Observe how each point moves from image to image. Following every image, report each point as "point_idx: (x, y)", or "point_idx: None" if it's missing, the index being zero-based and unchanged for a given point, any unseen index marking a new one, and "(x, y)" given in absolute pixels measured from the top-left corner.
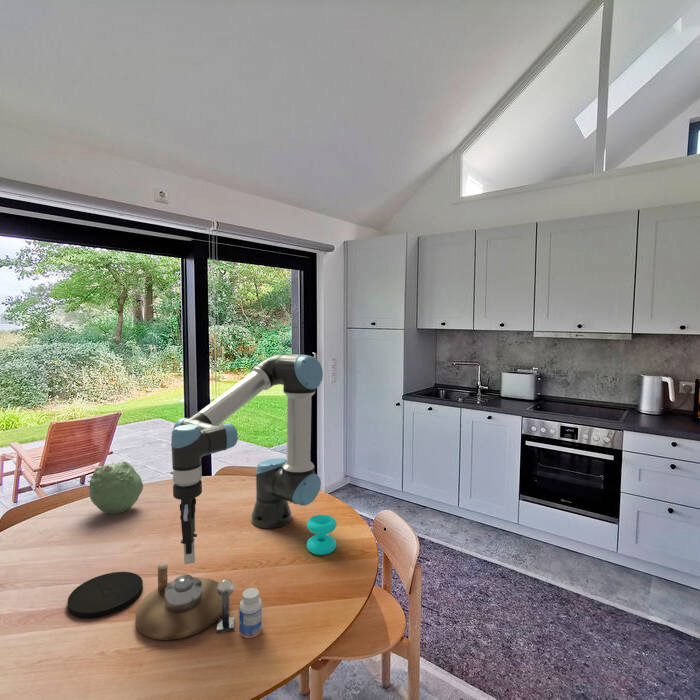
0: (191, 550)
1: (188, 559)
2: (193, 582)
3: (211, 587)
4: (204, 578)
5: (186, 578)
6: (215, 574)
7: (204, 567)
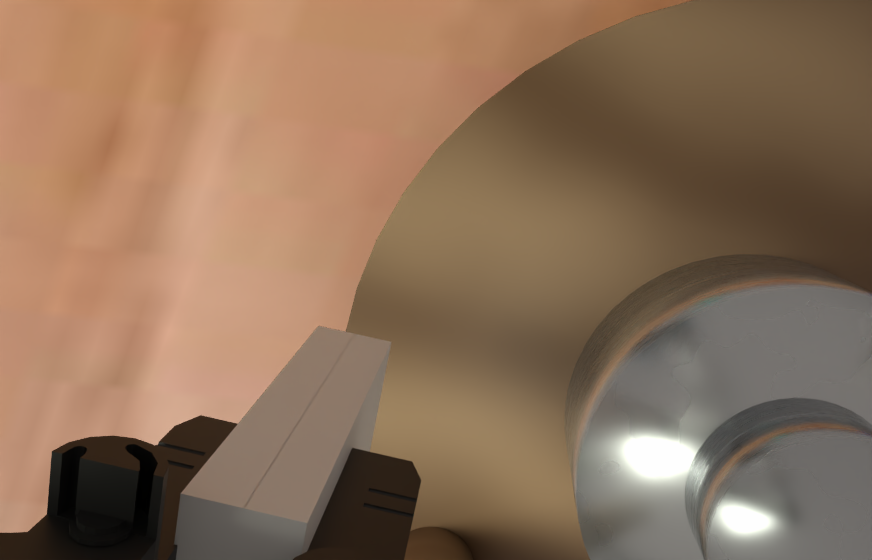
0: (383, 479)
1: (365, 440)
2: (754, 382)
3: (627, 135)
4: (420, 183)
5: (823, 513)
6: (263, 43)
7: (100, 132)
